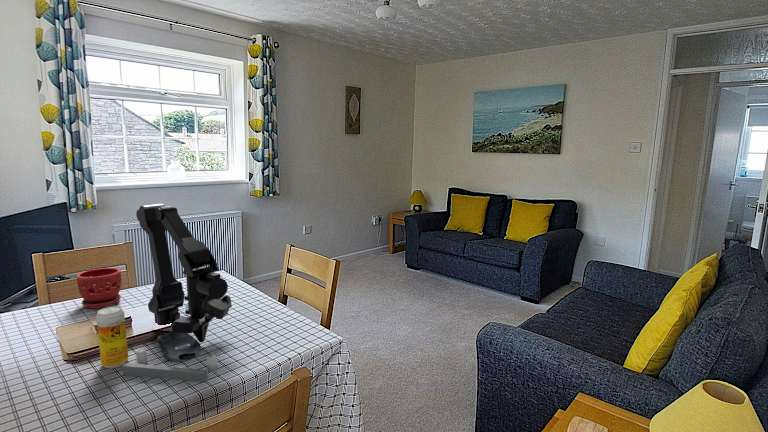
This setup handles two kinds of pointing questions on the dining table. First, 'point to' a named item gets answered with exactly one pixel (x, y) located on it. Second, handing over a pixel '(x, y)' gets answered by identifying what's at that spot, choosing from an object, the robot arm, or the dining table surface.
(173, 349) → the electronic device
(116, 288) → the plant pot
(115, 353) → the yellow pill bottle
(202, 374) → the dock
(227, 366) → the dining table surface
